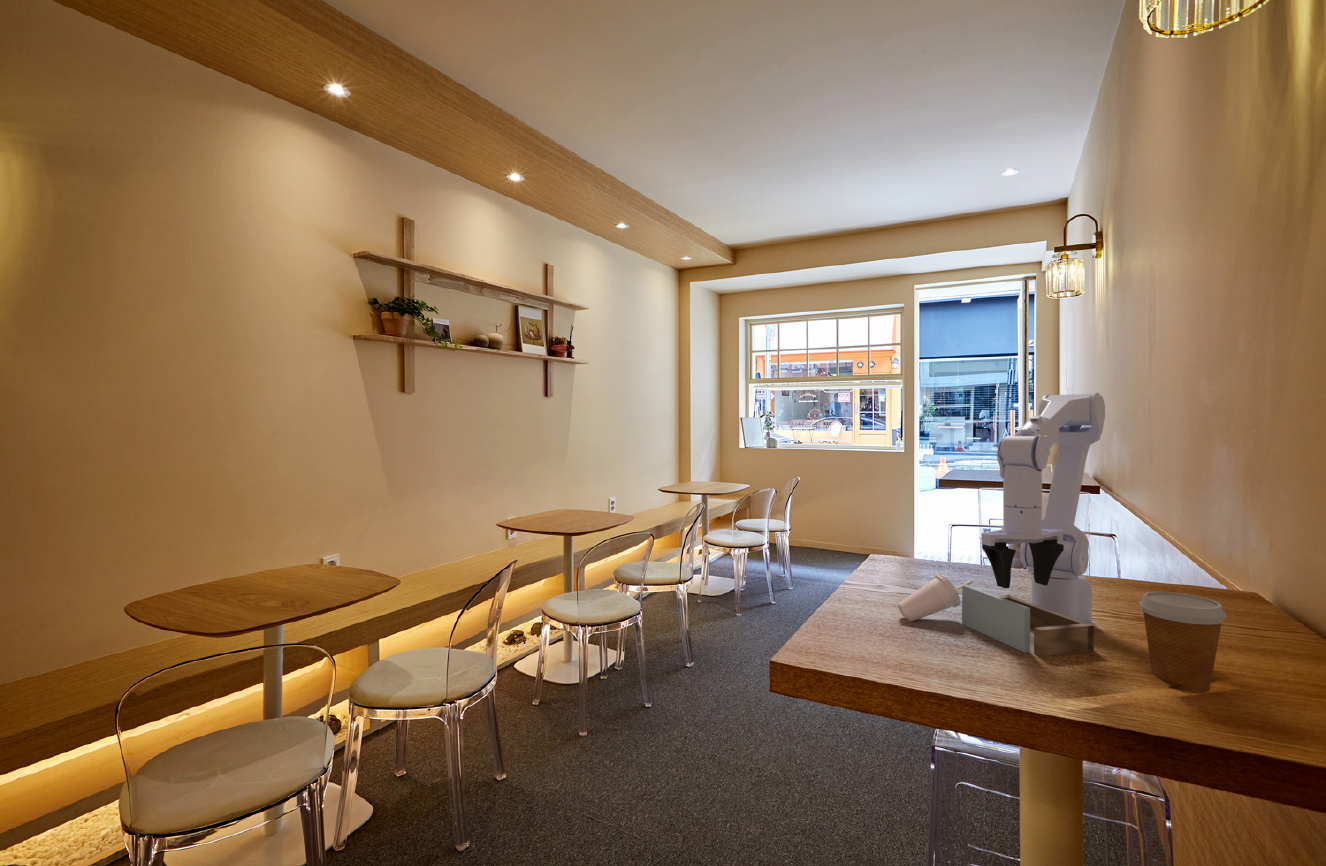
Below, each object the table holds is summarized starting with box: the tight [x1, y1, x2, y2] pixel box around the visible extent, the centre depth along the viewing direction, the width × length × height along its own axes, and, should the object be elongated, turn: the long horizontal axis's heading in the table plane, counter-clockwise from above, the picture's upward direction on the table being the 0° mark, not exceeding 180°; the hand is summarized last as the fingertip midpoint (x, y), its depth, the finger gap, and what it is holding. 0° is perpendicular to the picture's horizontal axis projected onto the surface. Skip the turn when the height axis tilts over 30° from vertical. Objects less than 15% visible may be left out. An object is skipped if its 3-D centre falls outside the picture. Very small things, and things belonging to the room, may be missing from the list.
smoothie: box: [897, 573, 974, 622], centre depth 115 cm, size 6×6×14 cm
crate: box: [998, 594, 1095, 657], centre depth 106 cm, size 10×18×5 cm, turn 12°
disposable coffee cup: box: [1138, 591, 1227, 694], centre depth 88 cm, size 10×10×12 cm
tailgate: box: [961, 584, 1031, 654], centre depth 105 cm, size 1×14×7 cm, turn 12°
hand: (1022, 585), depth 106 cm, fingers open, 7 cm apart
